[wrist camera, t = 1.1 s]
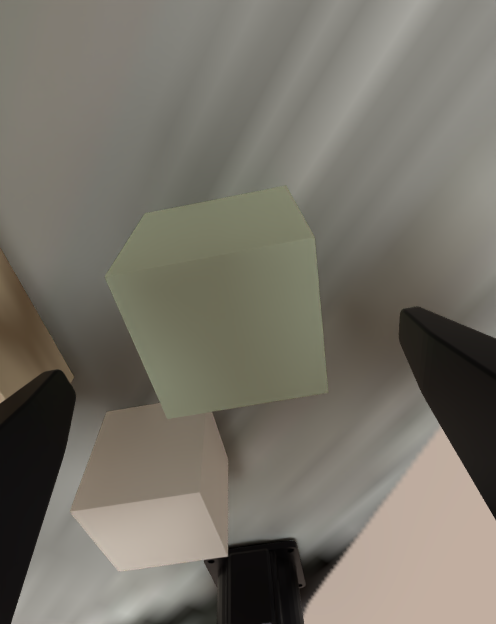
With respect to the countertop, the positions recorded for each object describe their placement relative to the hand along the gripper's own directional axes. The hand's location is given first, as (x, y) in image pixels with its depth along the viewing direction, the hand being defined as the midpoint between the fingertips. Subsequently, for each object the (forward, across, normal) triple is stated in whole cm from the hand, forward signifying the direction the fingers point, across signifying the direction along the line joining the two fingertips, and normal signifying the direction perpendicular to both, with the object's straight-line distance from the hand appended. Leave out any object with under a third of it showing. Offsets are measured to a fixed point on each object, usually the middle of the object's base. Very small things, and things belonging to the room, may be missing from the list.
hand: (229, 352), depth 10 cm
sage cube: (+5, 0, 0) cm, 5 cm away
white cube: (+5, +5, +9) cm, 12 cm away
